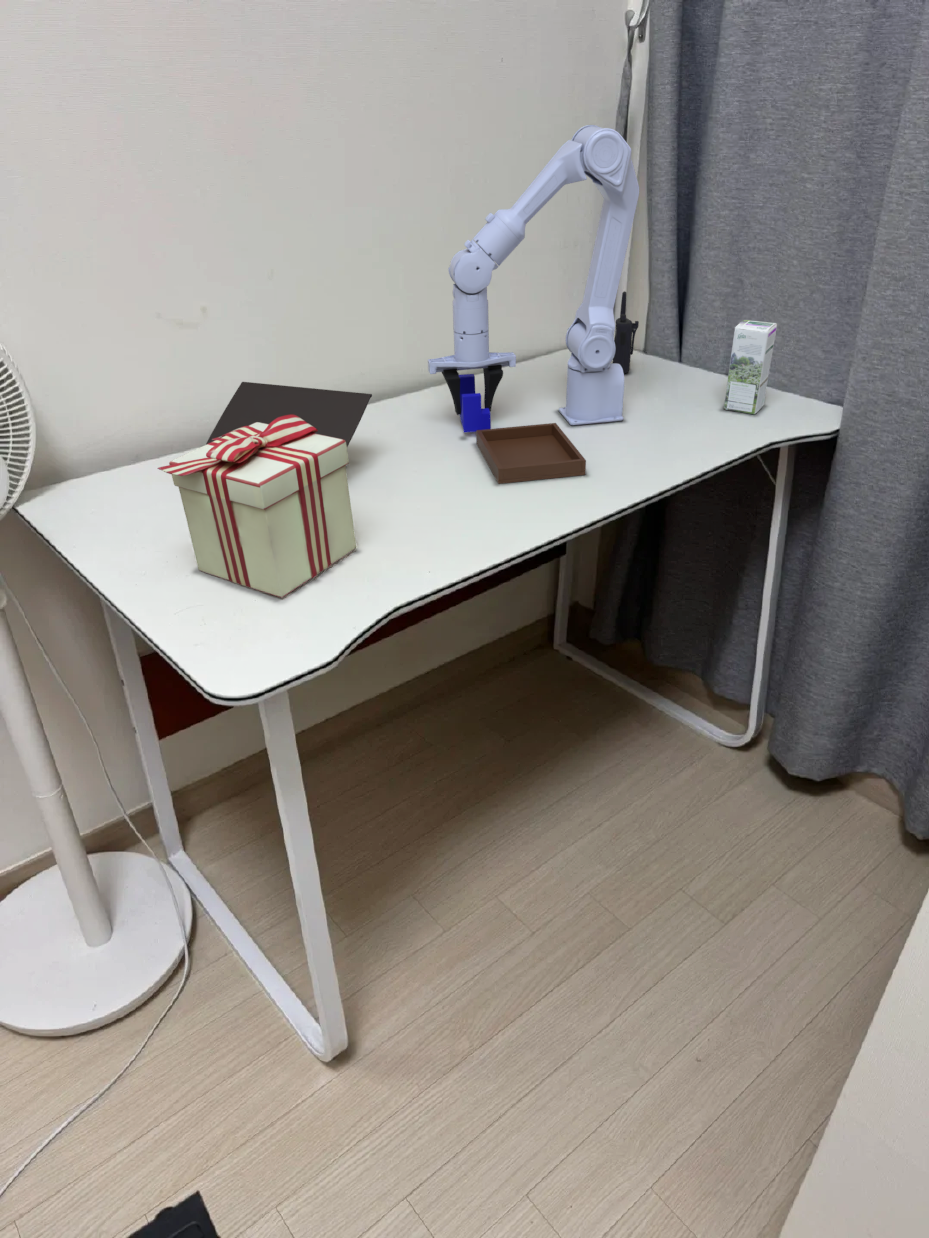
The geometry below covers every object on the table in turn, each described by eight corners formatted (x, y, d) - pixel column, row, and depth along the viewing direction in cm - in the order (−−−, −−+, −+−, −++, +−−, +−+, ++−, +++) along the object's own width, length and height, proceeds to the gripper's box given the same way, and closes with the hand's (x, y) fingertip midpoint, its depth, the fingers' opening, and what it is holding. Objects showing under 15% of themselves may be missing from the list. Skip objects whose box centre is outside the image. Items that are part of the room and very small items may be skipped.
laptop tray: (198, 521, 132) (170, 482, 125) (258, 413, 143) (236, 371, 135) (331, 542, 125) (310, 502, 118) (384, 426, 136) (368, 383, 128)
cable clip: (490, 431, 143) (490, 395, 139) (463, 432, 142) (462, 397, 139) (483, 407, 153) (482, 373, 149) (457, 408, 152) (456, 374, 149)
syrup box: (764, 405, 152) (778, 321, 145) (754, 415, 148) (768, 330, 140) (732, 400, 155) (745, 318, 147) (722, 410, 151) (734, 326, 143)
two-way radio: (611, 367, 174) (616, 289, 166) (633, 367, 173) (640, 289, 165) (612, 375, 169) (618, 296, 161) (635, 375, 169) (642, 296, 161)
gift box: (252, 520, 119) (231, 398, 110) (364, 546, 112) (351, 418, 102) (164, 575, 107) (131, 443, 97) (283, 609, 99) (260, 470, 90)
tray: (555, 436, 143) (555, 422, 141) (585, 475, 129) (586, 460, 128) (476, 444, 141) (476, 430, 139) (498, 484, 127) (498, 469, 126)
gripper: (508, 320, 144) (509, 400, 151) (423, 327, 142) (427, 407, 149) (519, 331, 138) (518, 413, 145) (429, 338, 136) (434, 421, 143)
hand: (473, 411), depth 147 cm, fingers closed on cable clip, 4 cm apart
